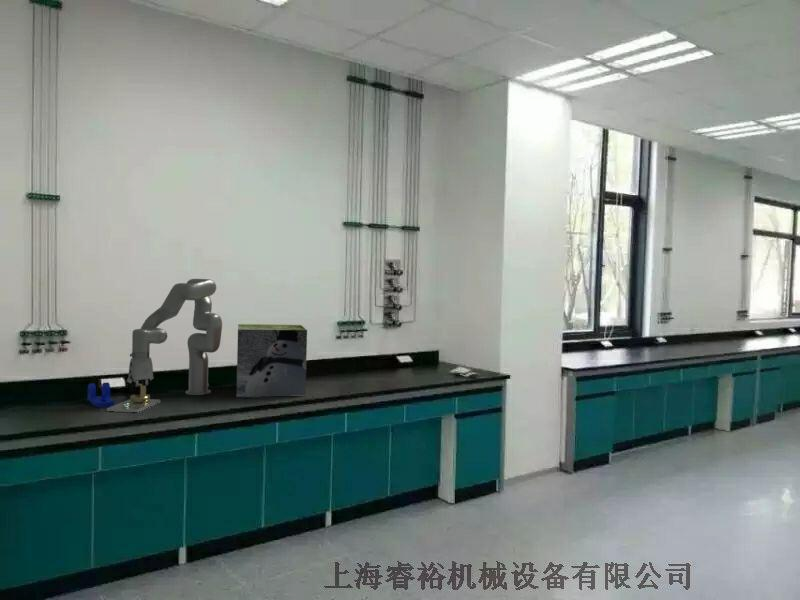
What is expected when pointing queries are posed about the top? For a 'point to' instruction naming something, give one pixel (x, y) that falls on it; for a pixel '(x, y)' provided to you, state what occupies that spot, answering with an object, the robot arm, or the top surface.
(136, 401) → the footscrew knob
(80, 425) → the top surface
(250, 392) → the photo cube
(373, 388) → the top surface
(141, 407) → the plate
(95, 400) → the bracket
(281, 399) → the top surface
